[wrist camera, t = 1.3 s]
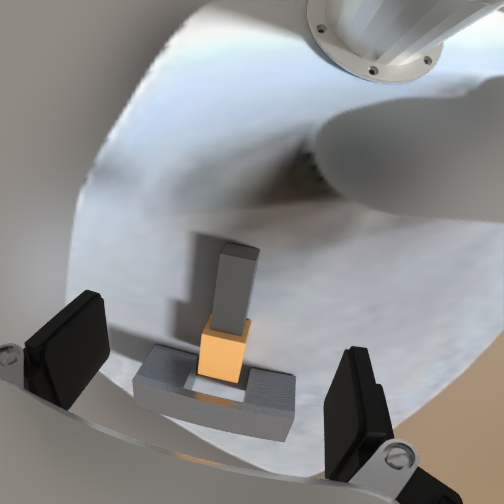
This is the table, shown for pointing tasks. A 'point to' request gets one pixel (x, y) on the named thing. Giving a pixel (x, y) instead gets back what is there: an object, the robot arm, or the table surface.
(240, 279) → the cable plug
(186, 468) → the robot arm
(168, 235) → the table surface
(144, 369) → the grey notched block
